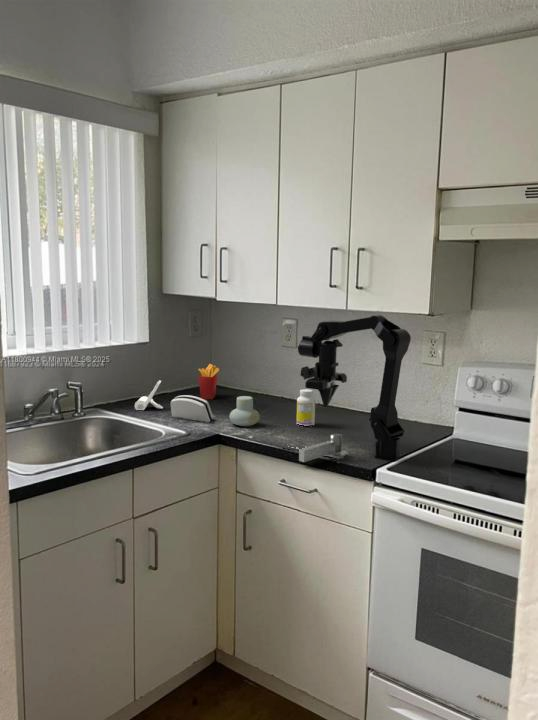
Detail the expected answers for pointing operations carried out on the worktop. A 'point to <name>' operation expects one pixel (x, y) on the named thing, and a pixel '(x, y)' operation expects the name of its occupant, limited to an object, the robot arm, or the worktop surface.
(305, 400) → the supplement bottle
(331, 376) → the robot arm
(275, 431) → the worktop surface
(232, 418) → the air freshener
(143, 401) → the plastic part
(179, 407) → the napkin holder
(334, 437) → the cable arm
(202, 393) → the french fries
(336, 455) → the pivot base
